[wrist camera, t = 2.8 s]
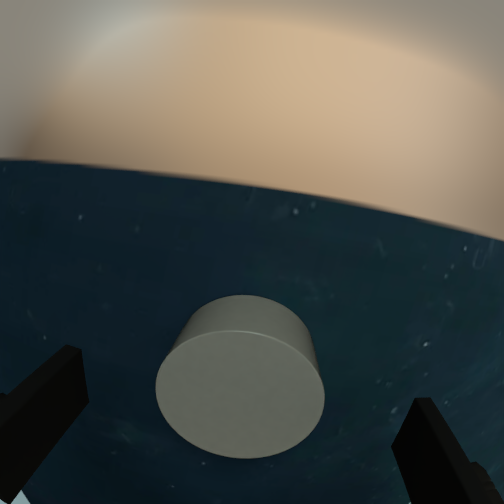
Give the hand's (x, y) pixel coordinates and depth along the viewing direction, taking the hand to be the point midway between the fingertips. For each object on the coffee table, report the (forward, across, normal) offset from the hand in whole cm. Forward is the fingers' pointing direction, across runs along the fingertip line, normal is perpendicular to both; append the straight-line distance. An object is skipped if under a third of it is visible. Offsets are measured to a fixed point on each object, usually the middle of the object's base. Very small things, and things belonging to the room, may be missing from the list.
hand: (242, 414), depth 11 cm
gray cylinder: (+4, 0, 0) cm, 4 cm away
